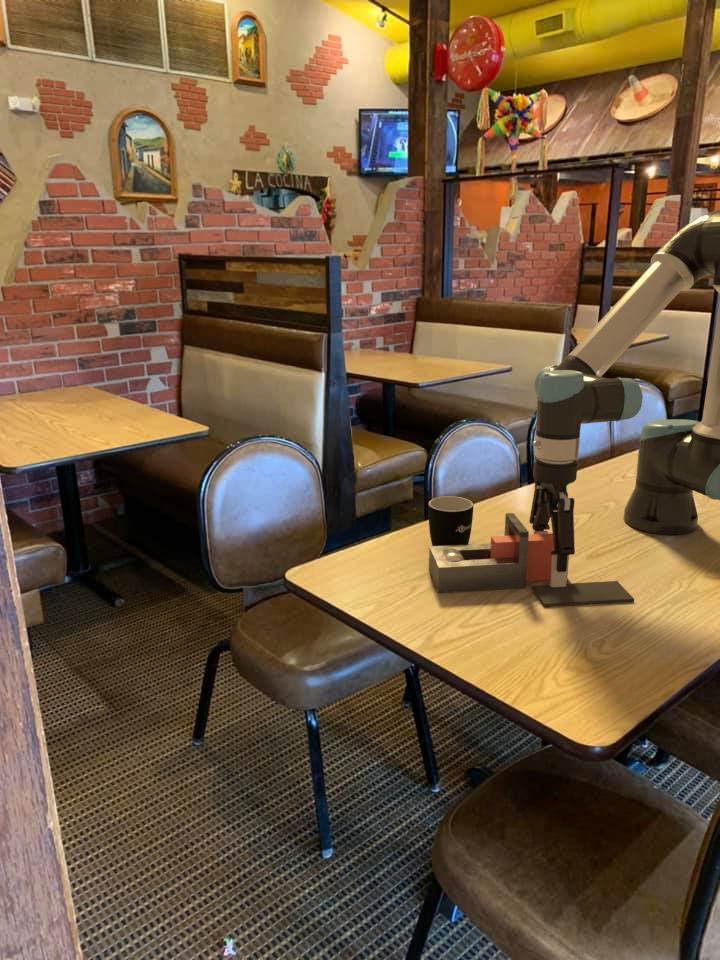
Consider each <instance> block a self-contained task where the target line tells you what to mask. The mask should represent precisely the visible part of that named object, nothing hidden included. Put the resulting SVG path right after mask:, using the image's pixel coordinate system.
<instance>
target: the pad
mask: <svg viewBox="0 0 720 960" xmlns="http://www.w3.org/2000/svg"><path fill="white" fill-rule="evenodd" d="M530 589H531V591H532V592H533V593H534V595H535V596H536V598H537V599H538V601H539V602H540V604H541V605H542V607H543V608H549V607H552V608H553V607H564V606H565V607H566V606H586V605H602V604H603V605H604V604H619V603H634V602H635V598H634V597H633V595H632V594H630V593H629V592H628V591H627V589H626V588H624V586H623V585H622V584H621V583H620V582H619V581H618V580H611V581H591V582H589V581H588V582H574V583H572V582H571V583H566V587H551V586H550V584H538V585H537V584H536V585H535V584H533V585H531V587H530Z"/></svg>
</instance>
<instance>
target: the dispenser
mask: <svg viewBox="0 0 720 960" xmlns="http://www.w3.org/2000/svg"><path fill="white" fill-rule="evenodd" d="M504 520H505V521H504V536H509V535H516V543H515V558H500V559H490V552H491V542H490V543H474V544H473V543H471V544H469V543H468V545H449V546H430V545H429V549H428V550H429V551H428V553H429V554H428V557H429V558H428V571H429V574H430V576H431V578H432V581H433V583H434V586H435V588H436V591H437V593H438V594H447V593H461V592H463V593H464V592H465V593H466V592H476V591H477V592H482V591H497V590H500V591H501V590H518V589H526V583H527V580H526V570H527V554H528V537H529V534H530V532H529V530H528V529H527V528H526V526H525V525H524V524H523V523H522V522H521V520H520V519H519V518H518V516H516V515H515V513H514V512H510V513H505V518H504Z"/></svg>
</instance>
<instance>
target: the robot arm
mask: <svg viewBox="0 0 720 960" xmlns="http://www.w3.org/2000/svg"><path fill="white" fill-rule="evenodd" d="M712 275H713V280H712V281H713V282H712V287H713V288H714V289H715V290H716V292H717V293H718V294H719V295H720V210H719V209H718V210H715V211H714V210H713V211H710V212H708V213H705V214H702V215H700V216H698V217H696V218H694V219H693V220H692V221H690V222H689V223H688V224H686V225H685V226H683V227H682V228H681V229H680V230H678V231H677V232H675V234H673V235H672V236H671V237H670V238H669V239H668V240H667V241H665V243H664V244H662V245H661V247H660V248H659V249H658V250H657V251H656V252H655V253H654V254H653V255H652V257H651V258H650V266H649V267H648V268H647V269H646V270H645V271H644V272H643V274H642V275H641V276H640V277H639V278H638V279H637V280H636V281H635V282H634V283H633V284H632V286H630V288H629V289H628V290H627V291H626V292H625V293H624V294H623V295H622V296H621V298H620V299H619V300H617V302H616V303H615V304H614V305H613V306H612V307H611V308H610V310H609V311H607V313H606V314H605V315H604V316H603V317H602V318H601V319H600V320H599V321H598V322H597V323H596V325H595V326H594V327H593V328H592V329H591V330H590V331H589V332H588V333H587V334H586V336H585V337H584V338H583V339H582V340H580V342H579V343H578V344H577V345H576V346H575V347H574V348H573V350H572V351H570V353H569V354H568V355H567V356H566V357H565V358H564V359H563V360H562V361H561V362H560V363H559V365H558V364H557V365H548V366H546V367H544V368H542V369H541V370H539V372H538V373H537V374H536V377H535V380H534V386H533V387H534V392H535V394H536V400H537V401H536V421H535V423H536V425H535V440H533V441H532V446H533V447H534V456H535V457H536V458H534V460H533V473H532V477H533V479H534V491H533V495H532V496H533V498H532V501H531V502H532V504H531V510H530V515H529V523H530V524H531V525H532V527H531V528H532V530H533V532H532V534H549V531H548V530H551V532H552V533H553V541H554V549H555V551H552V552H551V555H552V564H551V579H549V580H550V581H549V585H550V586H551V587H566V584H567V579H568V576H567V568H568V569H569V563H568V555H569V556H571V555H575V553H576V549H575V521H574V518H575V517H574V511H575V498H573V497H569V494H568V488H567V486H569V485H570V484H573V483H574V482H576V480H577V478H578V477H577V475H578V464H579V463H578V461H577V459H578V458H579V456H580V455H579V452H580V440H581V436H580V435H581V428H582V427H581V426H582V425H584V424H585V425H587V424H593V423H597V424H598V423H605V422H620V421H625V420H629V419H632V418H634V417H636V415H638V414H639V412H640V411H641V408H642V406H643V404H642V403H643V397H644V396H643V392H642V388H641V386H640V385H639V383H638V382H637V381H636V380H634V379H632V378H628V377H615V378H608V377H607V378H606V377H603V375H604V374H606V372H607V371H608V370H609V369H610V367H611V366H612V365H613V364H614V363H616V361H618V359H619V358H620V357H621V356H622V354H623V353H624V352H626V350H628V348H629V347H630V346H631V345H632V344H633V343H634V342H635V341H636V340H637V338H638V337H639V336H640V335H641V334H642V333H643V332H644V331H645V330H646V329H648V327H649V326H650V324H652V323H653V321H654V320H655V319H656V318H657V317H658V316H659V315H660V314H661V313H662V311H663V310H665V308H667V306H668V305H669V304H670V303H671V302H672V301H673V300H674V299H675V298H676V297H677V295H678V294H679V293H680V292H681V291H687V290H690V289H691V288H692V287H693V286H694V284H696V283H697V282H698V281H699V280H701V279H703V278H705V277H707V276H712ZM716 316H717V317H716V323H715V331H714V337H713V345H712V351H711V358H710V364H709V365H710V366H709V371H708V379H707V385H706V392H705V398H704V399H705V400H704V405H703V412H702V419H701V421H698V420H692V419H683V418H682V419H678V418H677V419H674V418H673V419H669V418H668V419H656V420H651V421H648V422H646V423H645V424H644V425H643V426H642V427H641V434H640V438H639V444H638V454H637V455H638V456H637V468H636V478H635V486H634V489H633V491H632V492H631V494H630V497H629V499H628V502H627V503H626V505H625V507H624V511H623V521H624V522H625V523H626V524H627V525H628V526H630V527H633V528H635V529H636V530H639V531H643V532H645V533H650V534H651V533H652V534H656V535H664V536H665V535H668V536H671V535H672V536H674V535H677V536H678V535H679V536H680V535H686V534H689V533H692V532H694V531H696V529H697V528H698V522H699V516H698V515H699V514H698V511H697V506H696V502H695V498H694V494H693V493H694V492H695V493H698V494H701V495H703V496H706V497H708V499H711V500H714V501H716V500H717V501H720V301H719V304H718V310H717V315H716ZM550 521H551V522H550ZM549 523H551V527H550V525H549Z"/></svg>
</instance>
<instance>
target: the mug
mask: <svg viewBox="0 0 720 960" xmlns="http://www.w3.org/2000/svg"><path fill="white" fill-rule="evenodd" d="M427 509H428V512H427V513H428V525H429V526H428V530H429V536H430V541H431V545H432V546H449V545H469V542H470V539H471V533H472V528H473V527H472V526H473V518H474V503H473V502H472V501H471V500H470V499H467V498H465V497H461V496H454V495H451V496H450V495H448V496H445V495H444V496H438V497H434V498H432V499H431V500H429V501H428V507H427Z"/></svg>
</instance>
